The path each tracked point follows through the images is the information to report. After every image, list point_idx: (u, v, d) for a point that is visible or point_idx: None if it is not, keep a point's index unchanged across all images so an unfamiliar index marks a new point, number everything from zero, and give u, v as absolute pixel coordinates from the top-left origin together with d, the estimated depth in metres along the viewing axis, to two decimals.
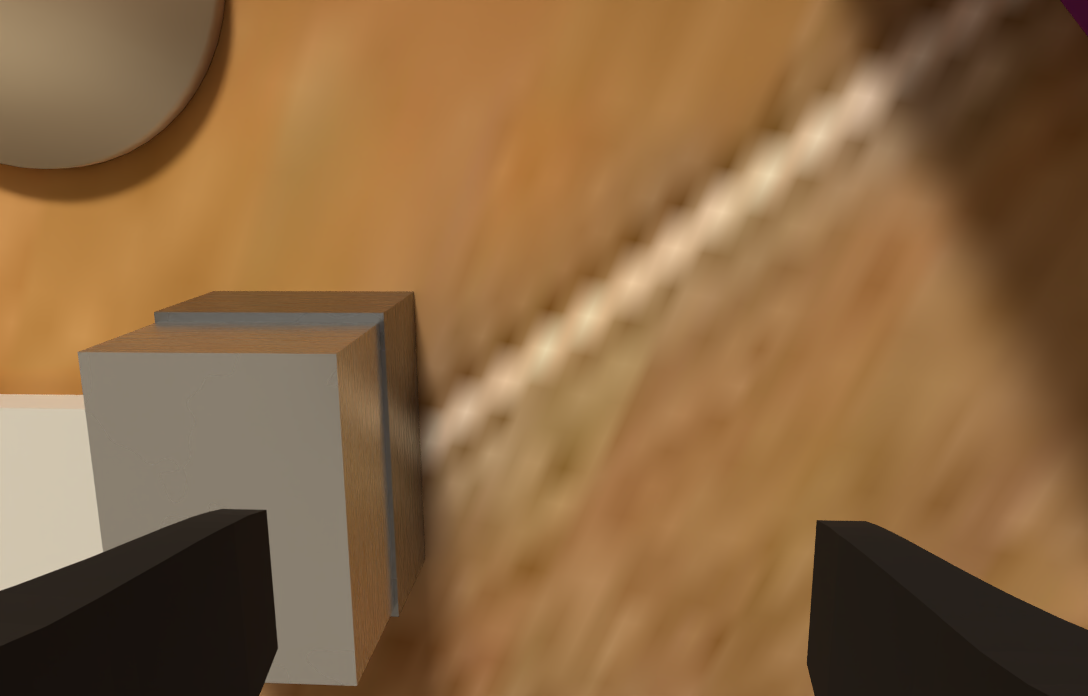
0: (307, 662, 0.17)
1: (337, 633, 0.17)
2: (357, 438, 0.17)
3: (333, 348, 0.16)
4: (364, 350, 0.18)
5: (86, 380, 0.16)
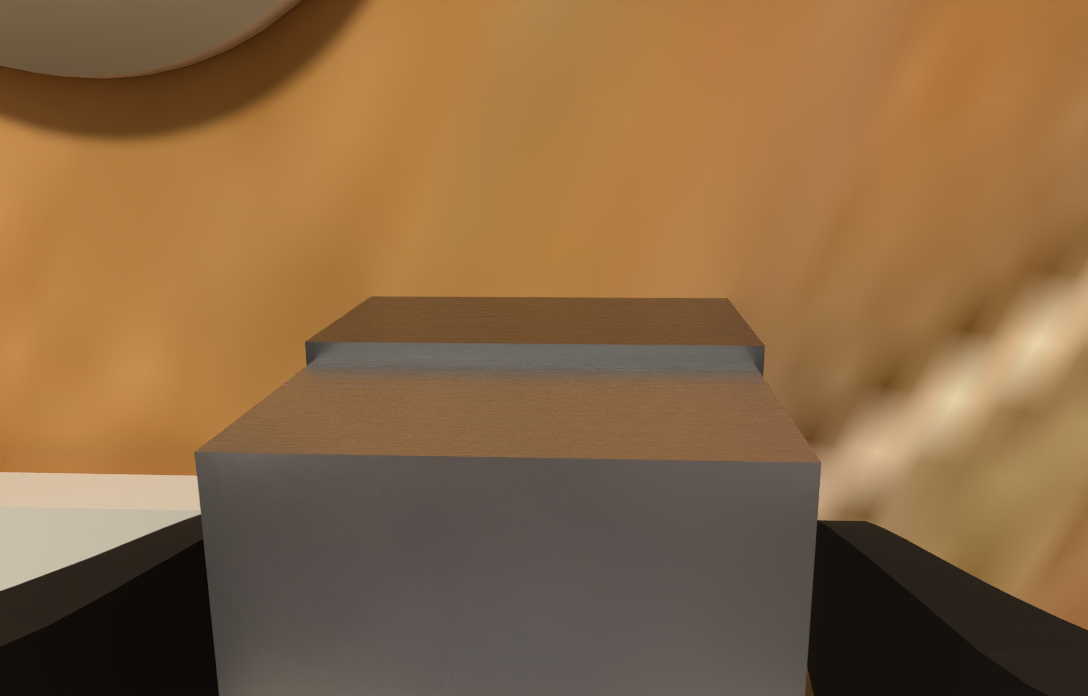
0: None
1: None
2: None
3: (783, 442, 0.07)
4: None
5: (212, 515, 0.07)
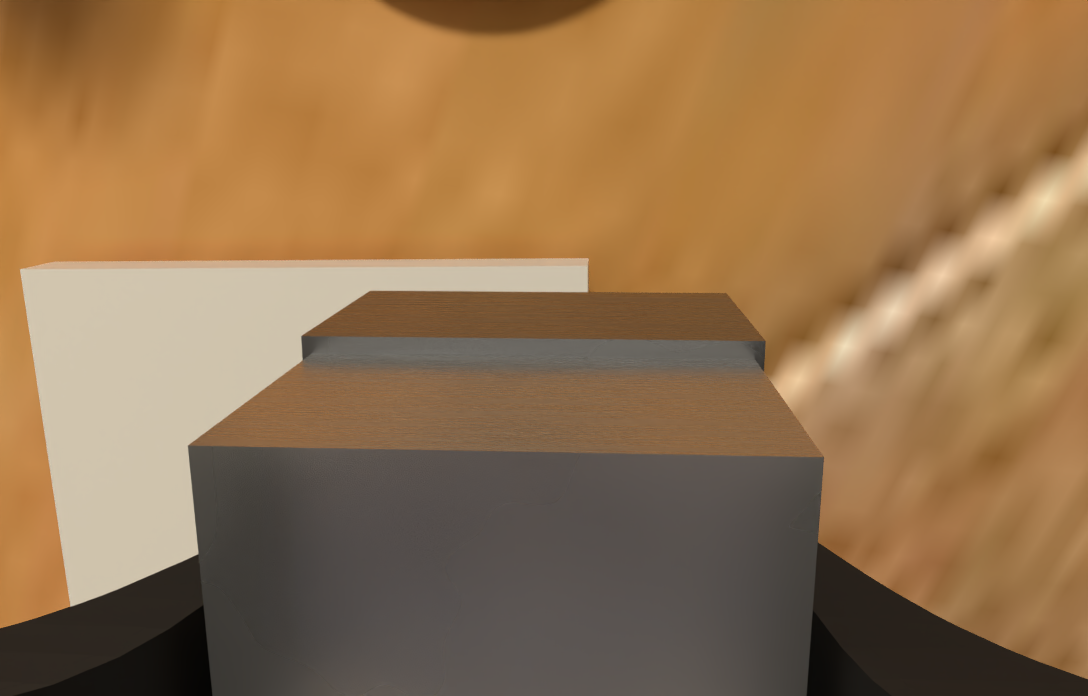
0: None
1: None
2: None
3: (785, 437, 0.07)
4: None
5: (206, 510, 0.07)
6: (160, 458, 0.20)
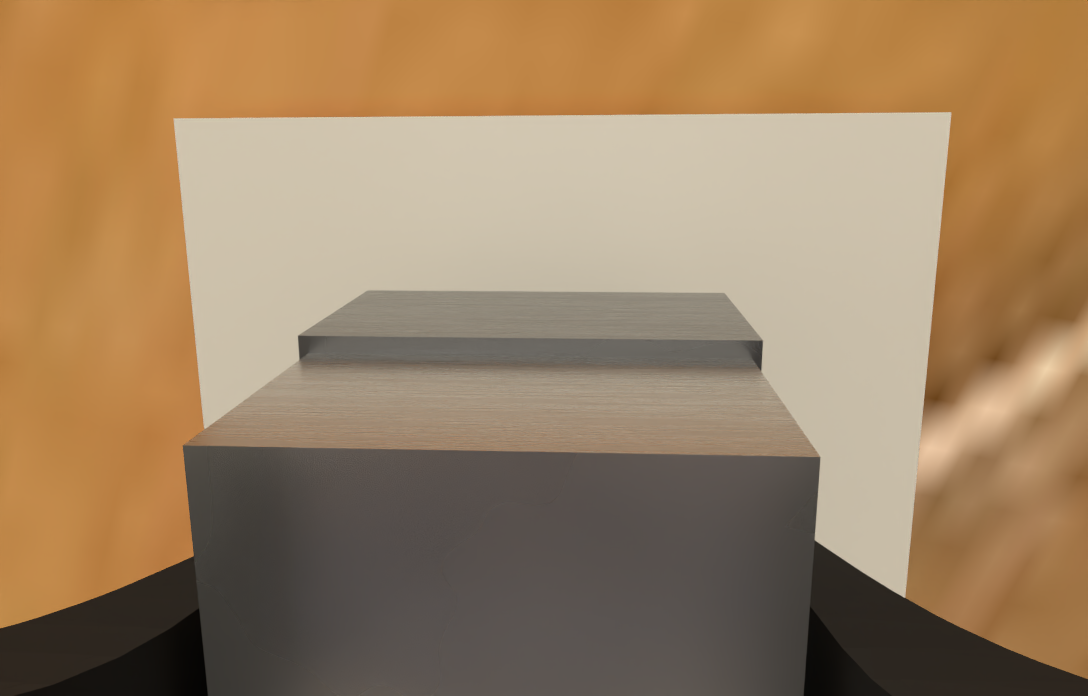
0: None
1: None
2: None
3: (782, 436, 0.07)
4: None
5: (201, 510, 0.07)
6: None
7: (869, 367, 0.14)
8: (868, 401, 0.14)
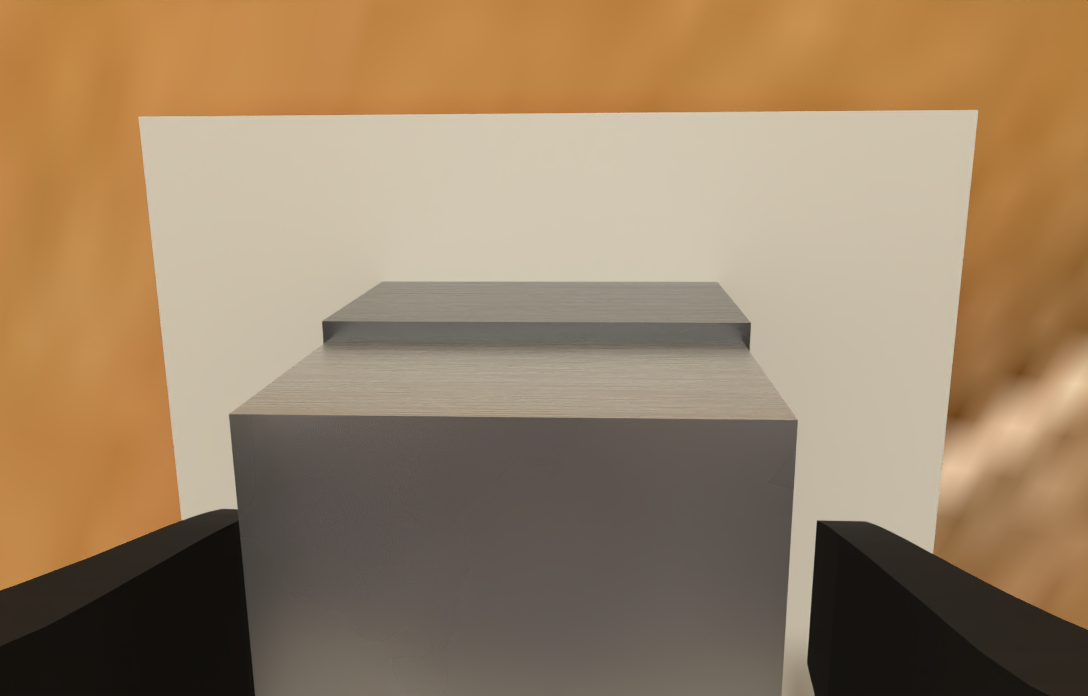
0: None
1: None
2: None
3: (764, 404, 0.08)
4: None
5: (245, 472, 0.08)
6: None
7: (888, 384, 0.13)
8: (887, 420, 0.13)
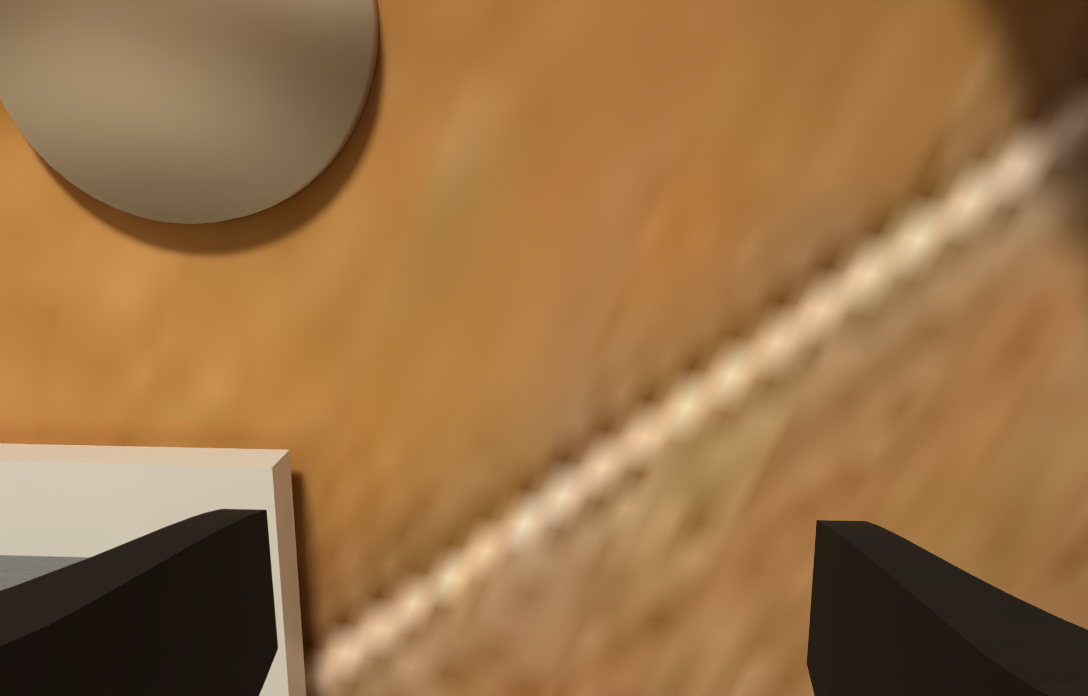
0: None
1: None
2: None
3: None
4: None
5: None
6: None
7: None
8: None
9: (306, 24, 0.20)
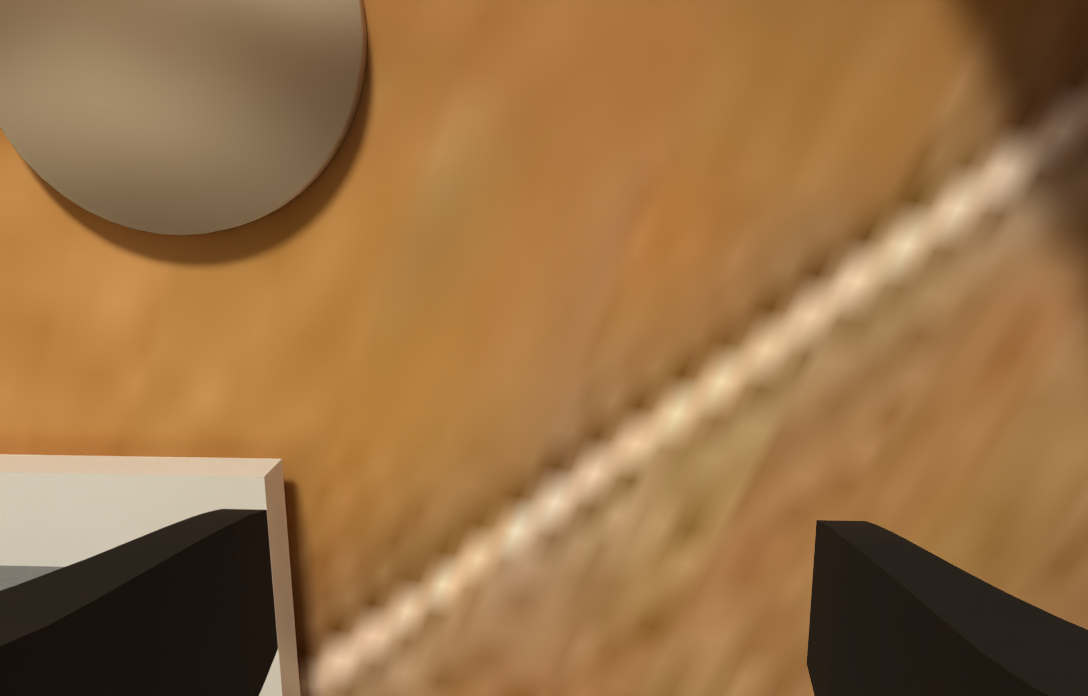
0: None
1: None
2: None
3: None
4: None
5: None
6: None
7: None
8: None
9: (295, 36, 0.20)
